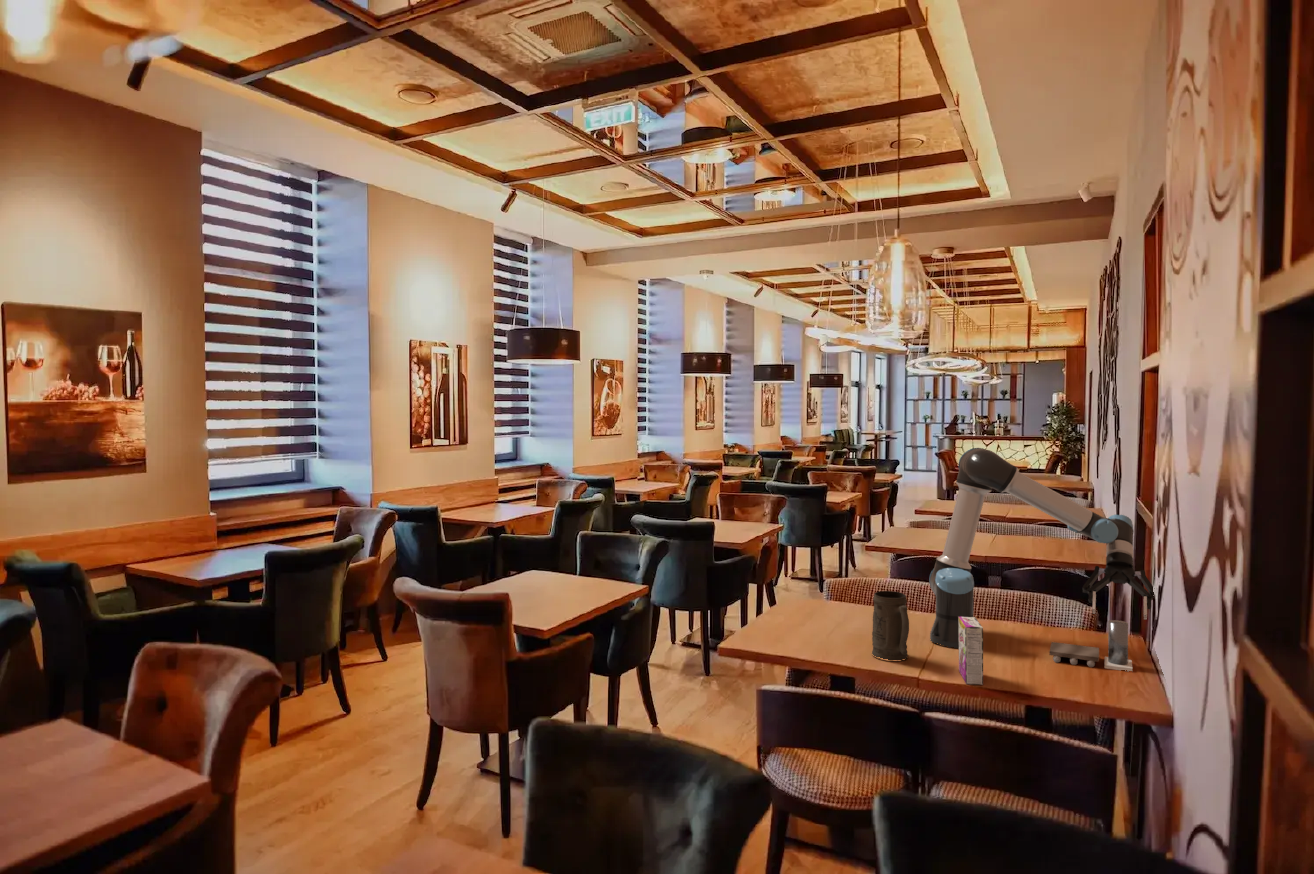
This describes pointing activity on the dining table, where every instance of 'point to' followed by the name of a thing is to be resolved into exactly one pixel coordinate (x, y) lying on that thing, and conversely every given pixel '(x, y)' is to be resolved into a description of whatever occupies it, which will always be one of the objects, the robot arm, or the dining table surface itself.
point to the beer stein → (890, 625)
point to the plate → (1118, 667)
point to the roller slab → (1074, 653)
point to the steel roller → (1118, 642)
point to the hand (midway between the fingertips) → (1119, 614)
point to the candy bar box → (971, 650)
